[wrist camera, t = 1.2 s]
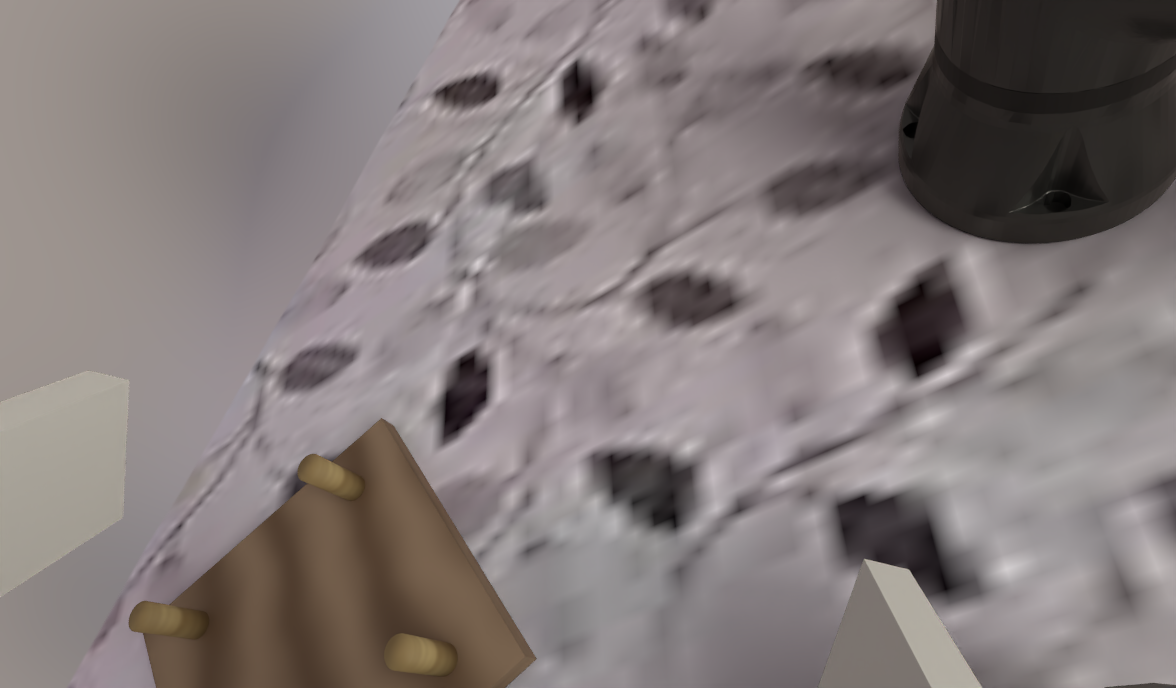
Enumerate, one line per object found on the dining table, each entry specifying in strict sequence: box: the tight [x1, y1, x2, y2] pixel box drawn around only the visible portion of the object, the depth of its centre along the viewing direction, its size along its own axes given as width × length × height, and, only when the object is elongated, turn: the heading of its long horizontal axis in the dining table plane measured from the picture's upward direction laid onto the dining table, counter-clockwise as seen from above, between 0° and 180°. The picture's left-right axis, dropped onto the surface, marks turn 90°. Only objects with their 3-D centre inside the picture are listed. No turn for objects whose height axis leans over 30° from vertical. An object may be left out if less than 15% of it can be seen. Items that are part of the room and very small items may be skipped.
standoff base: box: [129, 418, 536, 688], centre depth 43 cm, size 22×20×6 cm
